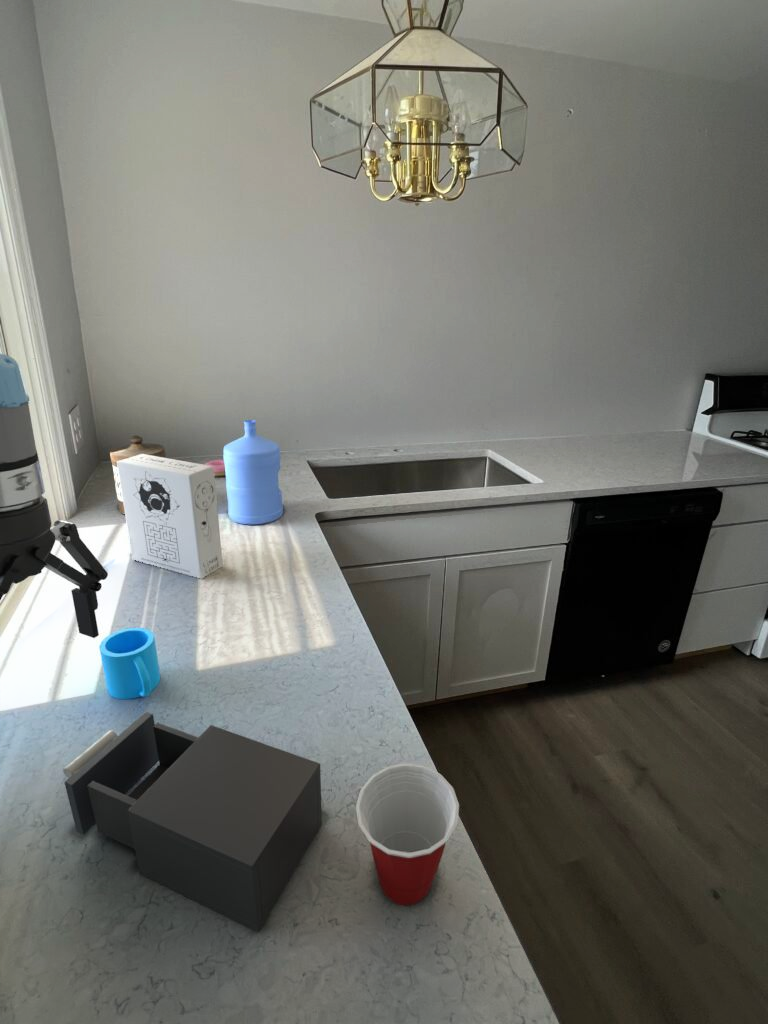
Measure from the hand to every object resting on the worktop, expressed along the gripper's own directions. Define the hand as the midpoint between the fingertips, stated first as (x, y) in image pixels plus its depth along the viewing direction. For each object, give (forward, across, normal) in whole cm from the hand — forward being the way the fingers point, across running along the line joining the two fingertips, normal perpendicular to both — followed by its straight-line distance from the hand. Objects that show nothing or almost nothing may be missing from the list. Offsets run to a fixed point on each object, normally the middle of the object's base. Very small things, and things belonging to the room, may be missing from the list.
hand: (42, 662), depth 68 cm
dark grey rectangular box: (+18, 0, -27) cm, 32 cm away
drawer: (+17, 0, -14) cm, 22 cm away
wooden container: (+19, +80, +65) cm, 105 cm away
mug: (+18, +17, +5) cm, 26 cm away
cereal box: (+19, +56, +31) cm, 66 cm away
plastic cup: (+18, +5, -47) cm, 50 cm away
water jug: (+18, +89, +32) cm, 97 cm away
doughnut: (+16, +117, +67) cm, 136 cm away
